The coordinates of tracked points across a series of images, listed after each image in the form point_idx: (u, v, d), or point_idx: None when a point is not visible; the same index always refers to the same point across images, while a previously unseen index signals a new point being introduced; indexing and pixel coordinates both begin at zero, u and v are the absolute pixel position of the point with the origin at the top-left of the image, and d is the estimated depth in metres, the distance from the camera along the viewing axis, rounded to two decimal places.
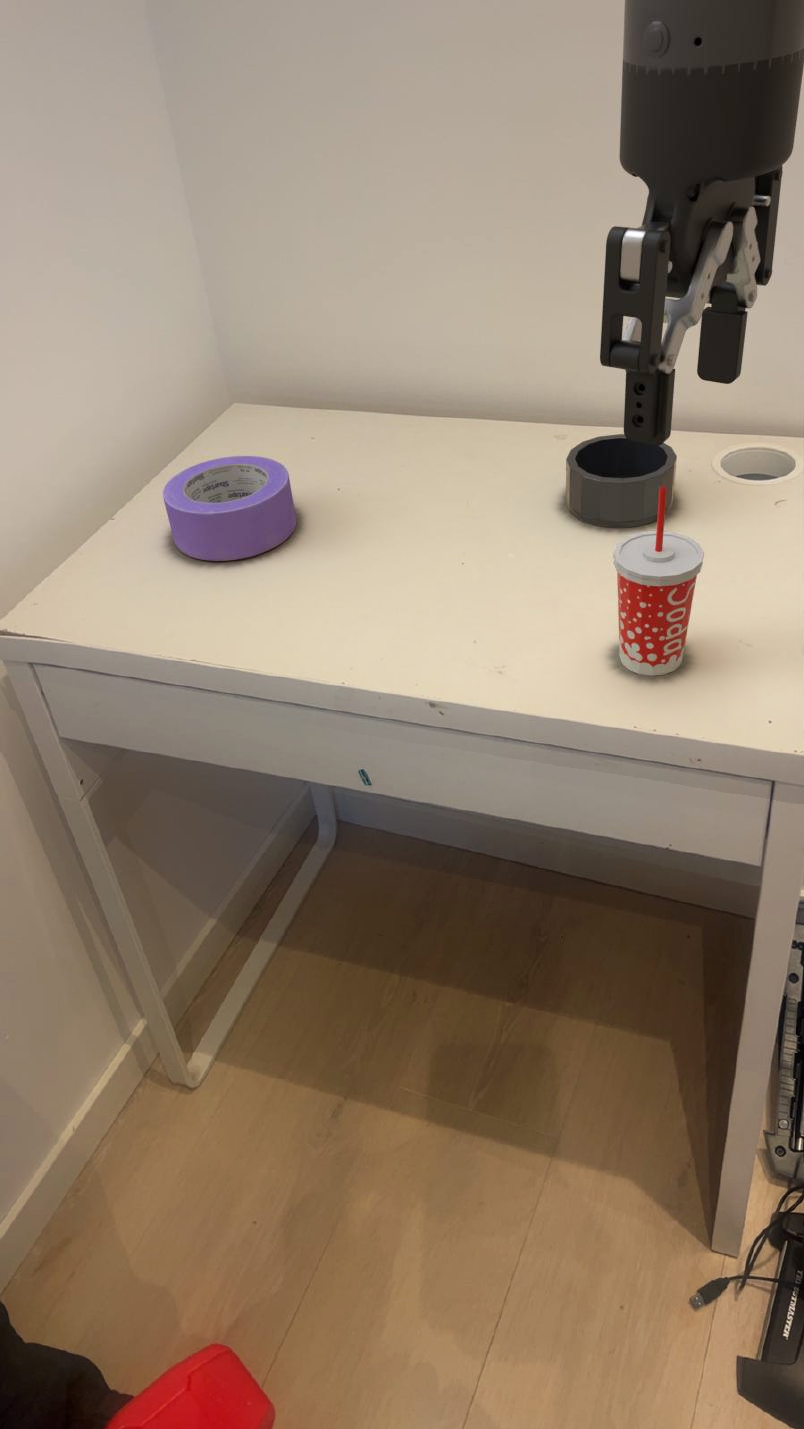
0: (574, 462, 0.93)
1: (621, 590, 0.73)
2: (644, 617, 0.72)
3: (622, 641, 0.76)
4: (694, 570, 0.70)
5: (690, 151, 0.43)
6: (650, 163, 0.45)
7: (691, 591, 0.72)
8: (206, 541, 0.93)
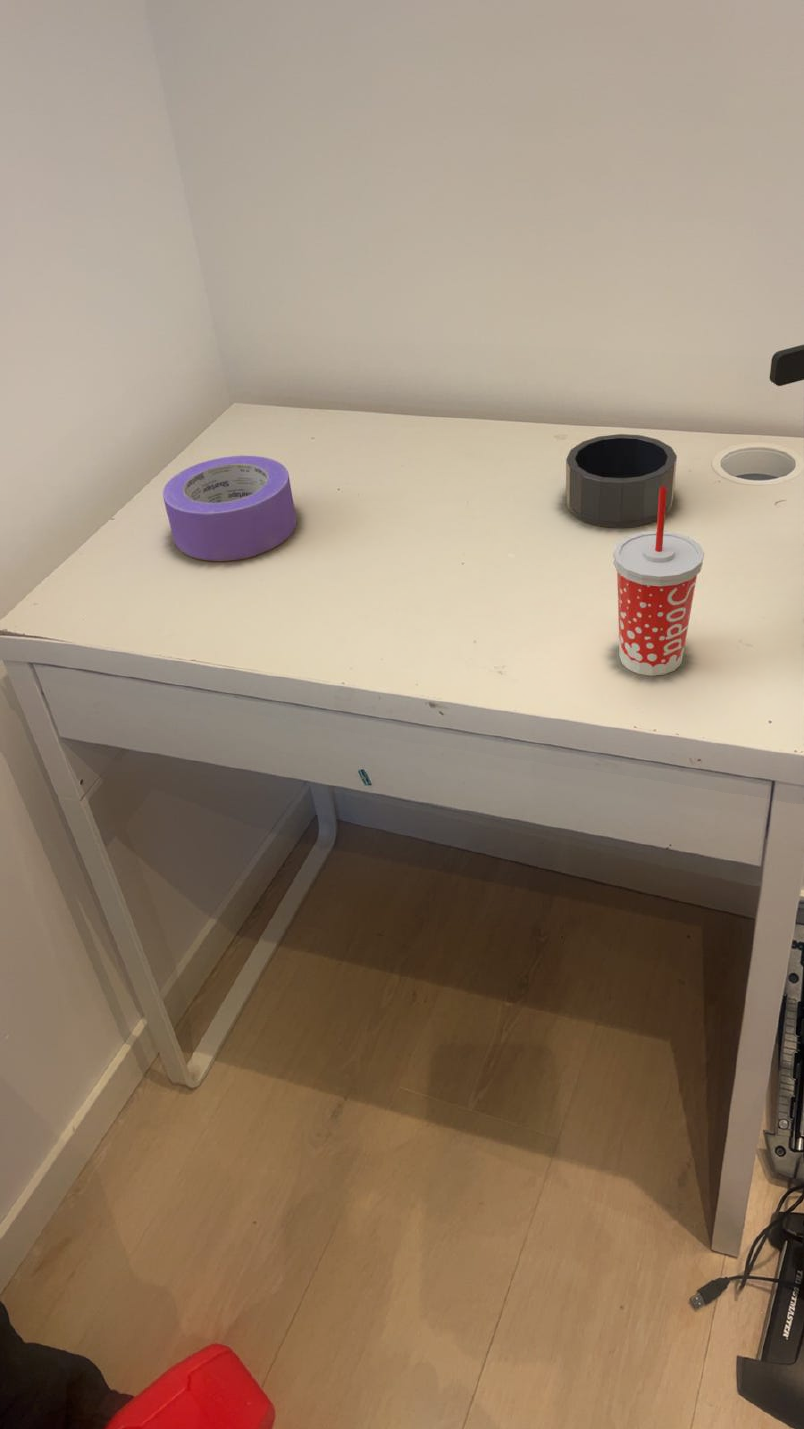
0: (574, 462, 0.93)
1: (621, 590, 0.73)
2: (644, 617, 0.72)
3: (622, 641, 0.76)
4: (694, 570, 0.70)
5: None
6: None
7: (691, 591, 0.72)
8: (206, 541, 0.93)
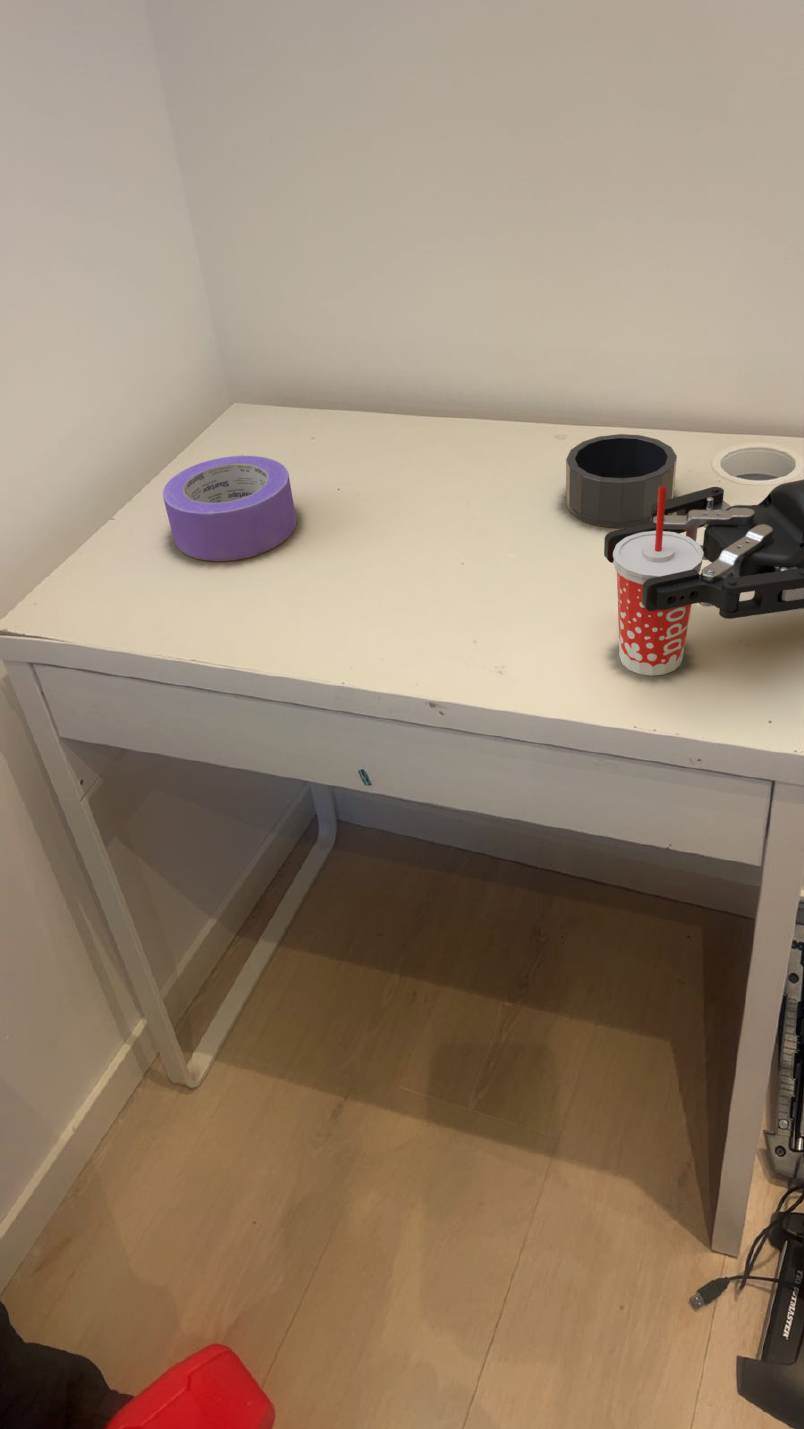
0: (574, 462, 0.93)
1: (621, 590, 0.73)
2: (644, 617, 0.73)
3: (622, 641, 0.76)
4: None
5: None
6: None
7: None
8: (206, 541, 0.93)
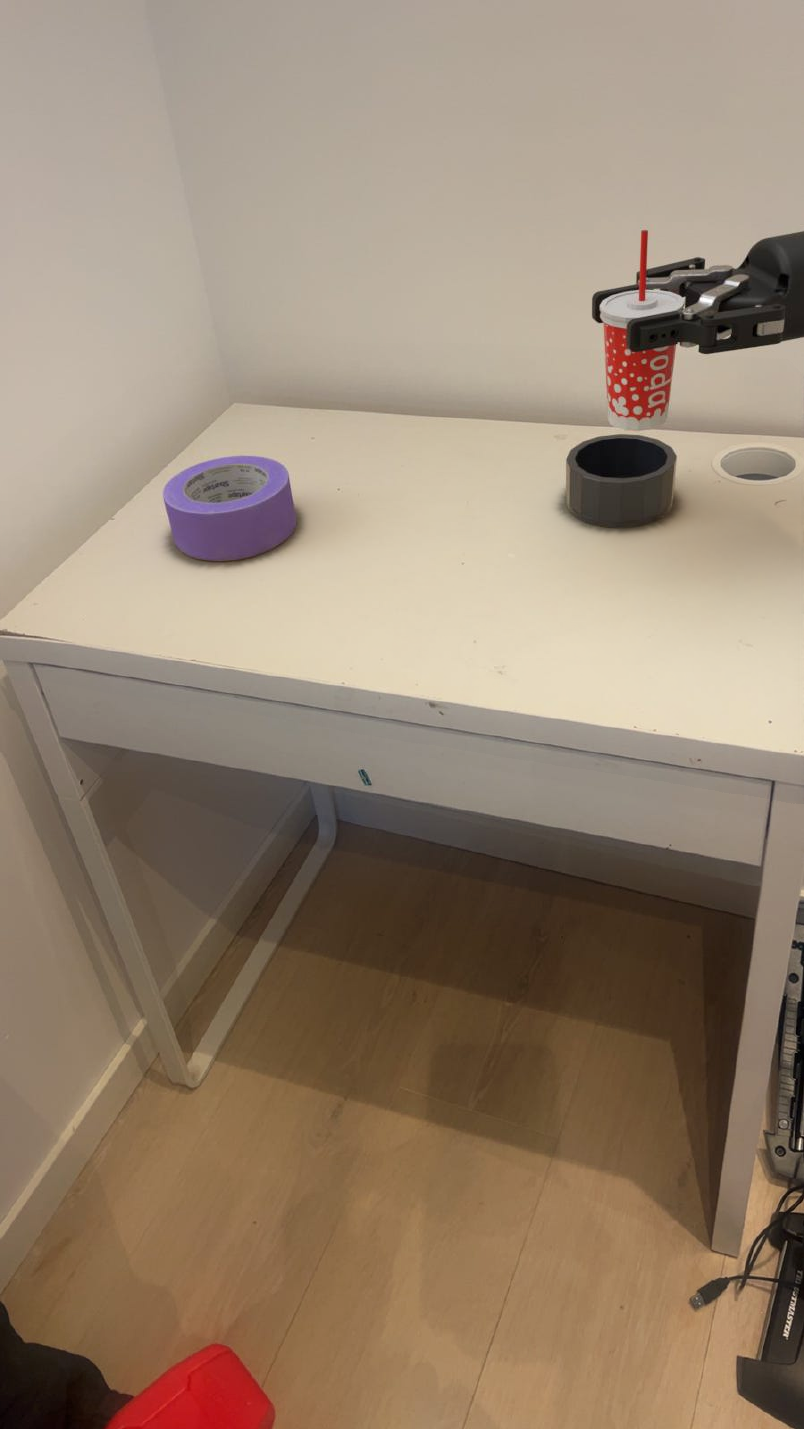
0: (574, 462, 0.93)
1: (607, 342, 0.78)
2: (629, 366, 0.77)
3: (610, 399, 0.81)
4: None
5: None
6: None
7: None
8: (206, 541, 0.93)
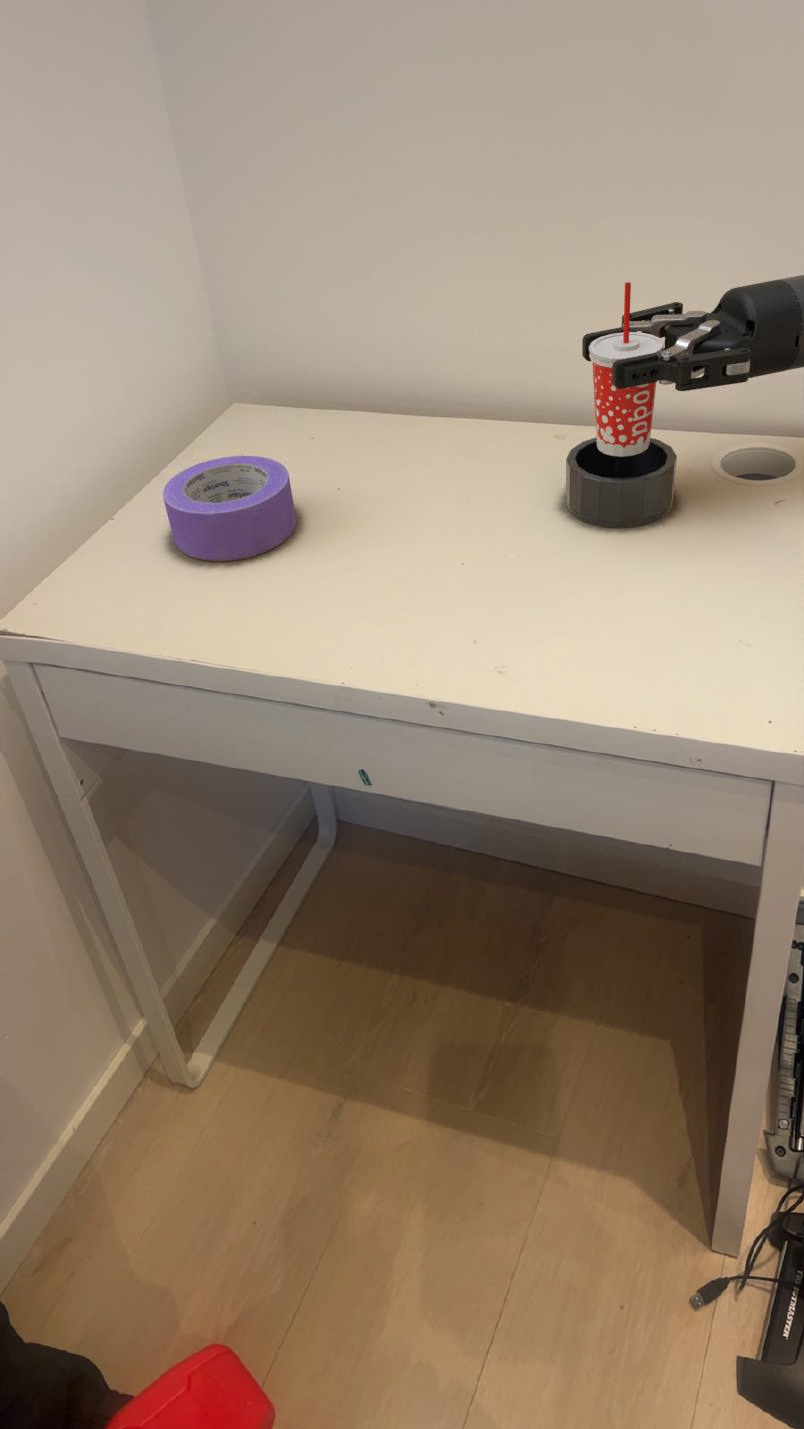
0: (574, 462, 0.93)
1: (596, 379, 0.88)
2: (615, 400, 0.88)
3: (598, 428, 0.91)
4: None
5: None
6: None
7: None
8: (206, 541, 0.93)
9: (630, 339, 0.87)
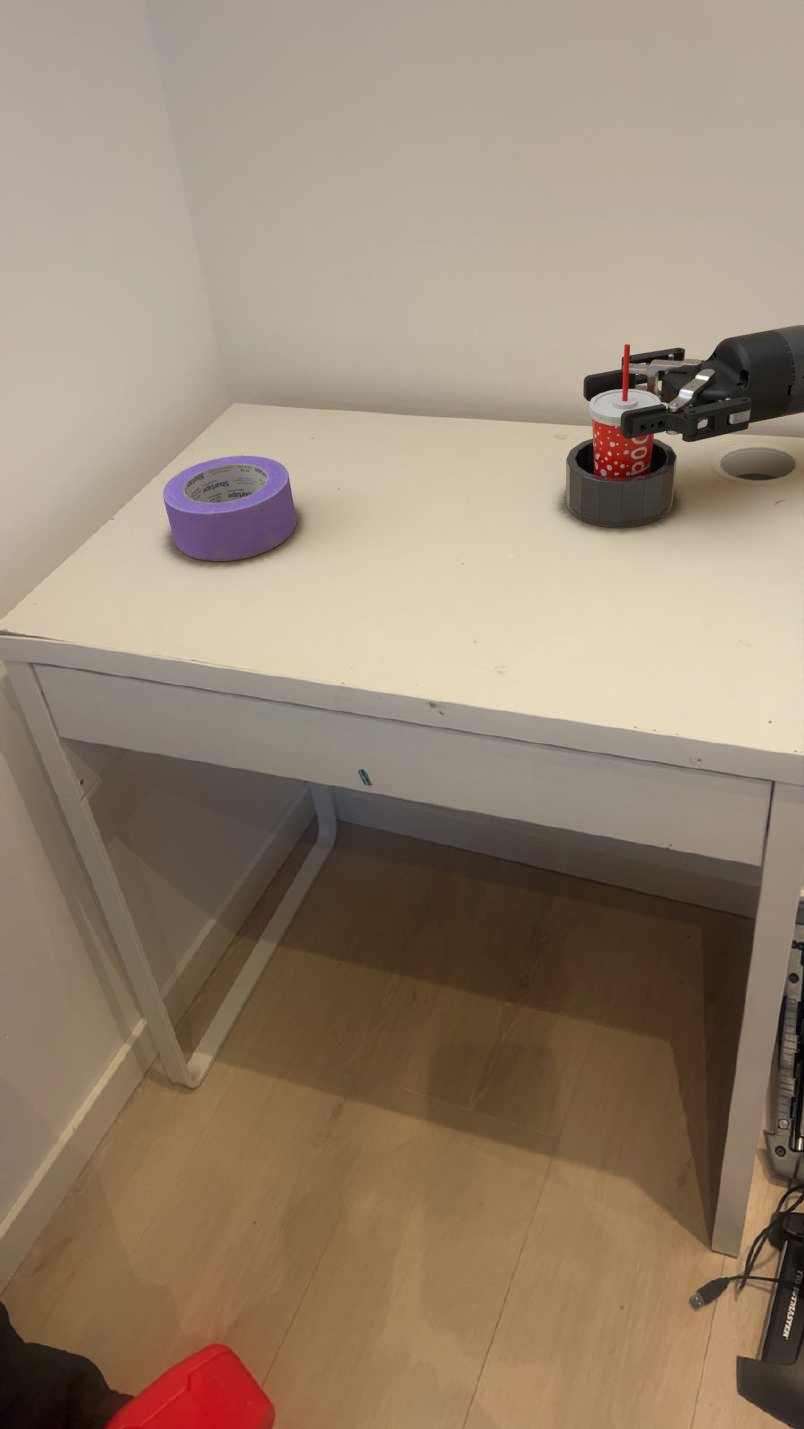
0: (574, 462, 0.93)
1: (595, 434, 0.91)
2: (613, 455, 0.91)
3: None
4: None
5: None
6: None
7: None
8: (206, 541, 0.93)
9: (629, 397, 0.90)
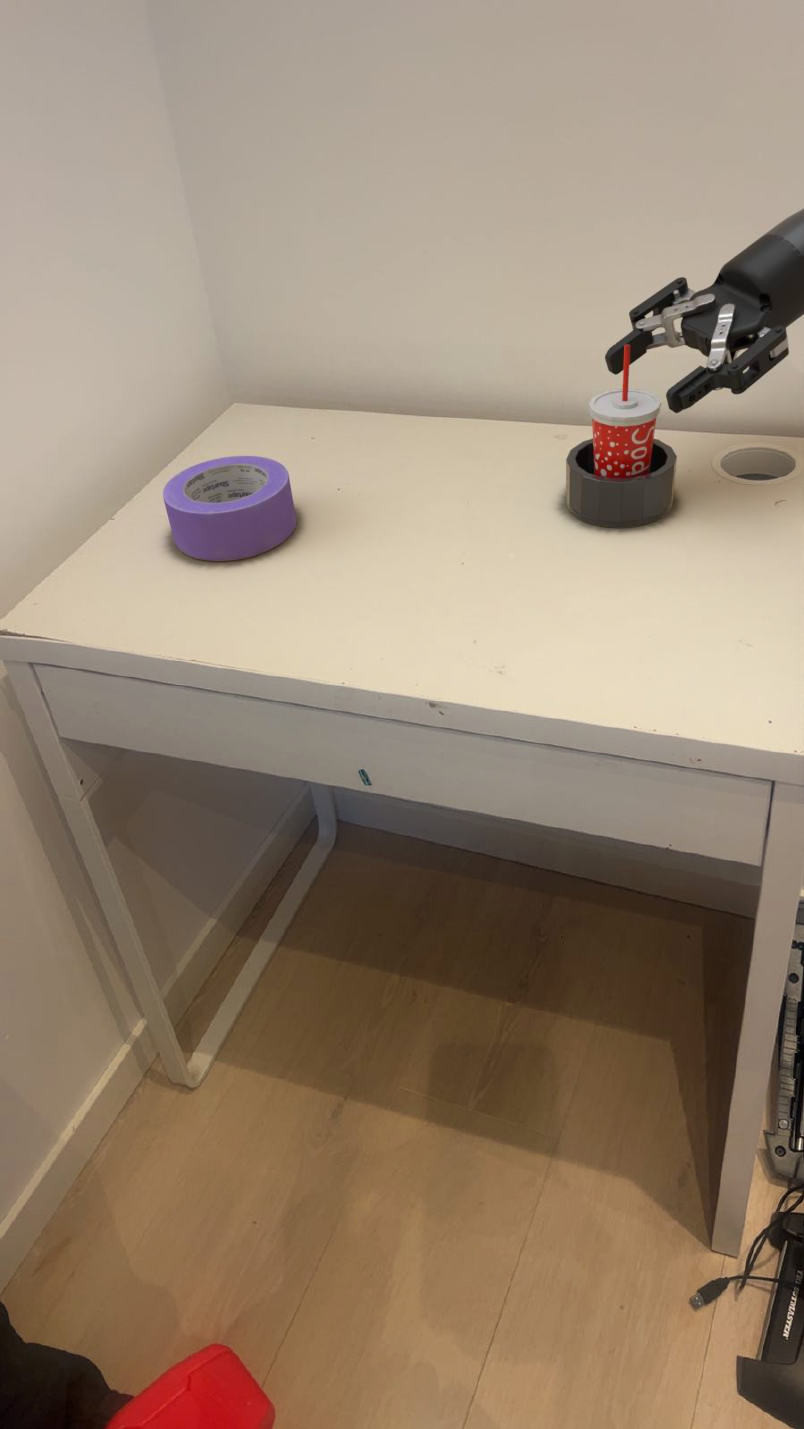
0: (574, 462, 0.93)
1: (595, 434, 0.91)
2: (613, 455, 0.91)
3: None
4: (652, 414, 0.88)
5: None
6: None
7: (651, 433, 0.90)
8: (206, 541, 0.93)
9: (629, 397, 0.90)
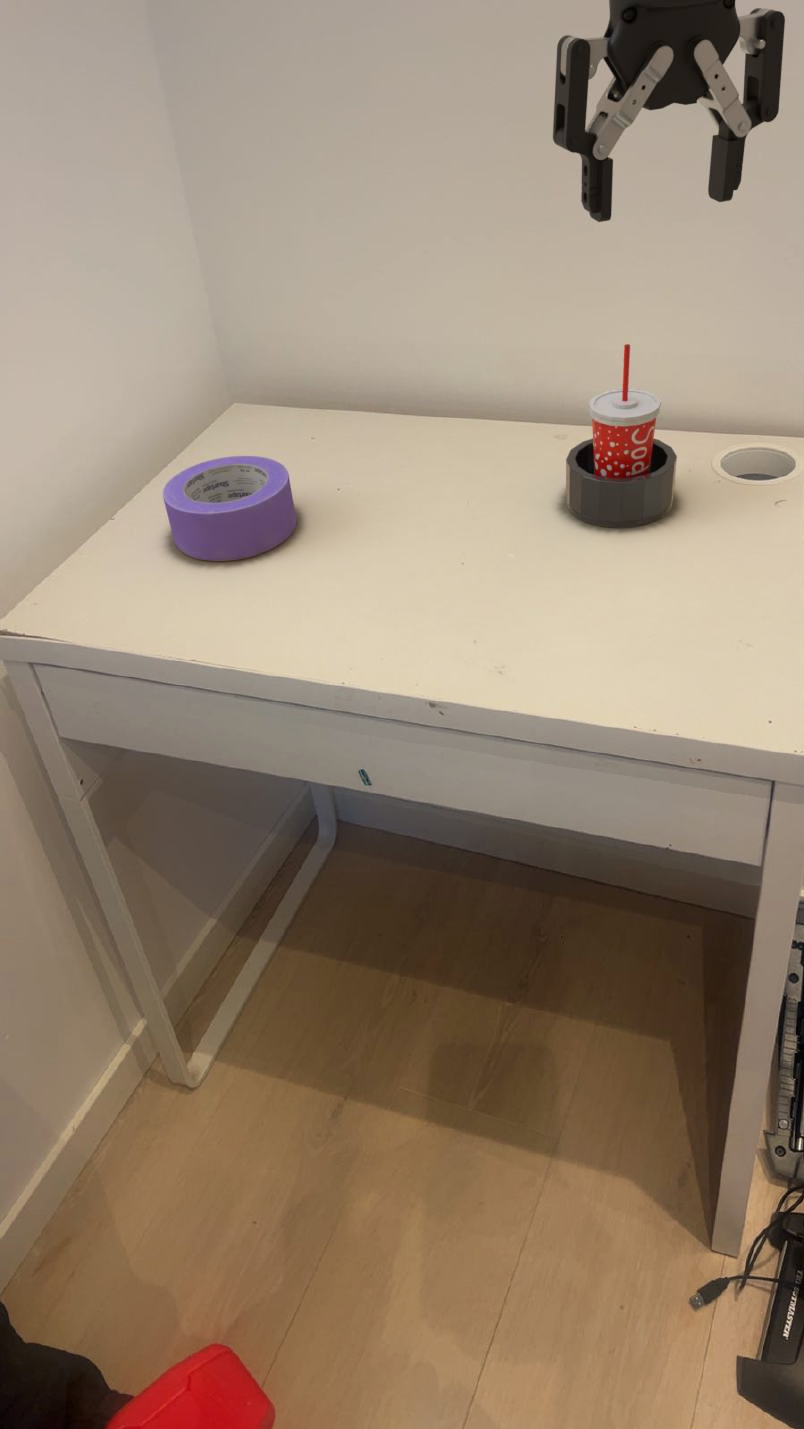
0: (574, 462, 0.93)
1: (595, 434, 0.91)
2: (613, 455, 0.91)
3: None
4: (652, 414, 0.88)
5: None
6: None
7: (651, 433, 0.90)
8: (206, 541, 0.93)
9: (629, 397, 0.90)
